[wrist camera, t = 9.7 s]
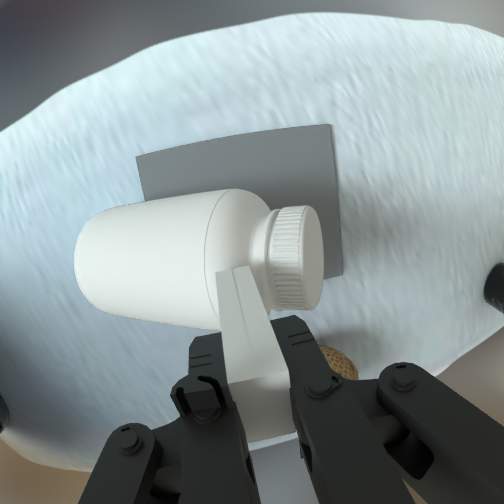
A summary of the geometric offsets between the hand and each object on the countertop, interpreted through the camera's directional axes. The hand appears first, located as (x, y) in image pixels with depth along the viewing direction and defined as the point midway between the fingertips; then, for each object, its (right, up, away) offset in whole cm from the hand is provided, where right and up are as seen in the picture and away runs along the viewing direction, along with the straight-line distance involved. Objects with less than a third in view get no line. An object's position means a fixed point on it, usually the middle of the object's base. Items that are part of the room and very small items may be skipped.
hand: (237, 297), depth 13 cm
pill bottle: (-10, +1, +8) cm, 13 cm away
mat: (0, +5, +12) cm, 13 cm away
